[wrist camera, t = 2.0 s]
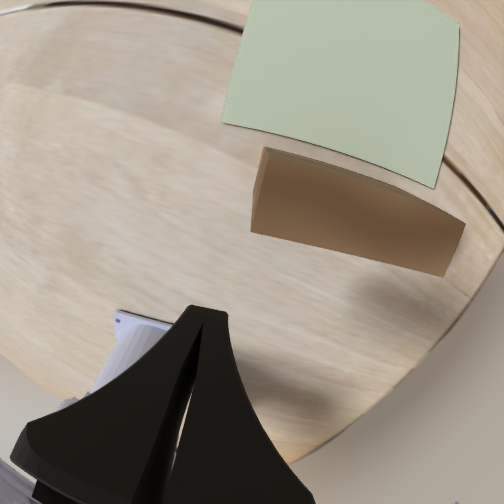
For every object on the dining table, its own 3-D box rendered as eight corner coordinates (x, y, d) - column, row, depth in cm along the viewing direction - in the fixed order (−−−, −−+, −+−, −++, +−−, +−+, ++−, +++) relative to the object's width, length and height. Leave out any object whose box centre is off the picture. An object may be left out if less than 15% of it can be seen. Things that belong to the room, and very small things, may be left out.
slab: (384, 224, 18) (443, 277, 11) (253, 190, 18) (250, 231, 10) (397, 187, 17) (466, 223, 10) (263, 146, 16) (268, 155, 9)
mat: (430, 187, 17) (433, 188, 17) (221, 122, 16) (220, 122, 15) (456, 24, 10) (458, 23, 10) (272, -53, 9) (272, -55, 9)
